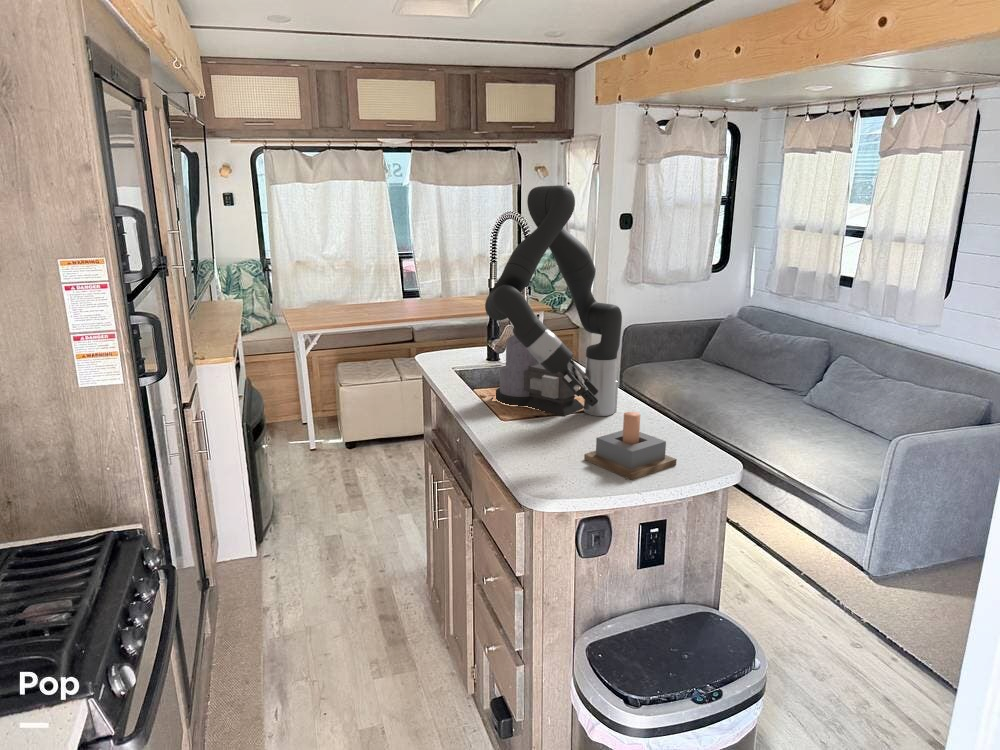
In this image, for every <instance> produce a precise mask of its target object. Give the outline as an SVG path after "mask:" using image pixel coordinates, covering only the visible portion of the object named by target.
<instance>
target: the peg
mask: <svg viewBox="0 0 1000 750" xmlns="http://www.w3.org/2000/svg"><path fill="white" fill-rule="evenodd" d="M640 428H641V413H639V412H635V411H626V412H623V427H622V430H623V440H622V442H625V443H627V444H630V445H634V444H637V443H639V432H641V431H640Z"/></svg>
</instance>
